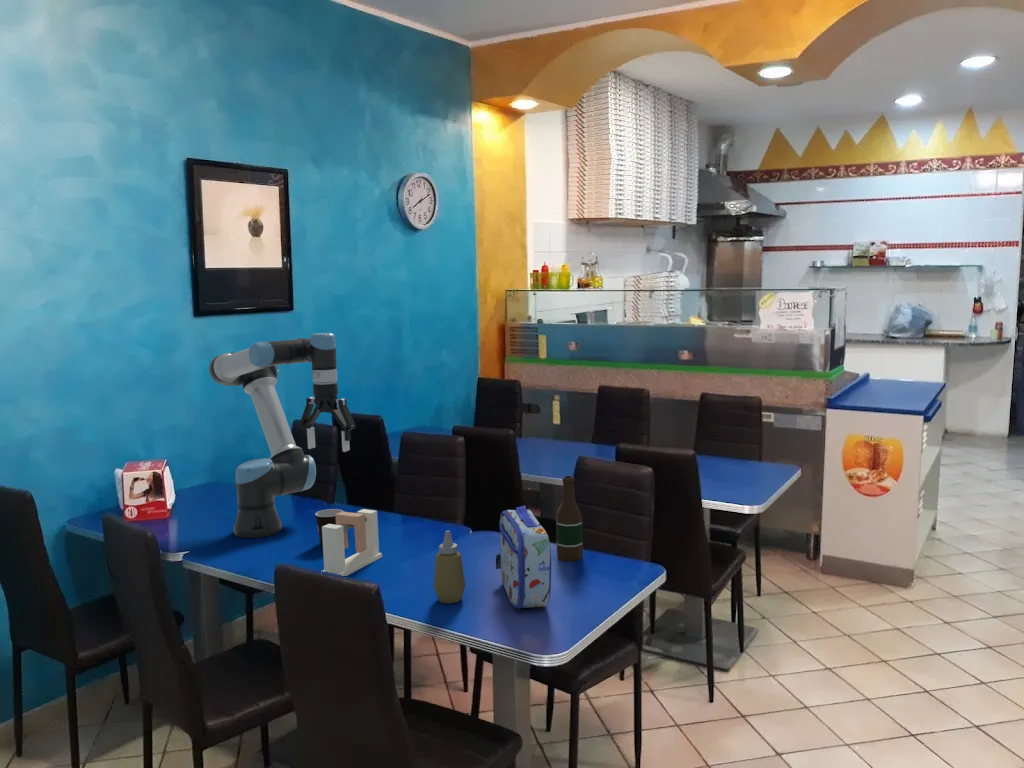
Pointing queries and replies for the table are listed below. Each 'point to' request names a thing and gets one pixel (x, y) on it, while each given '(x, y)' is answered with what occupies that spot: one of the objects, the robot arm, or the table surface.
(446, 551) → the squeeze bottle
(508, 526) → the lunch box
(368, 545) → the rod bracket
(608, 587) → the table surface
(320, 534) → the coffee mug
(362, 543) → the arch
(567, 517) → the beer bottle
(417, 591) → the table surface
